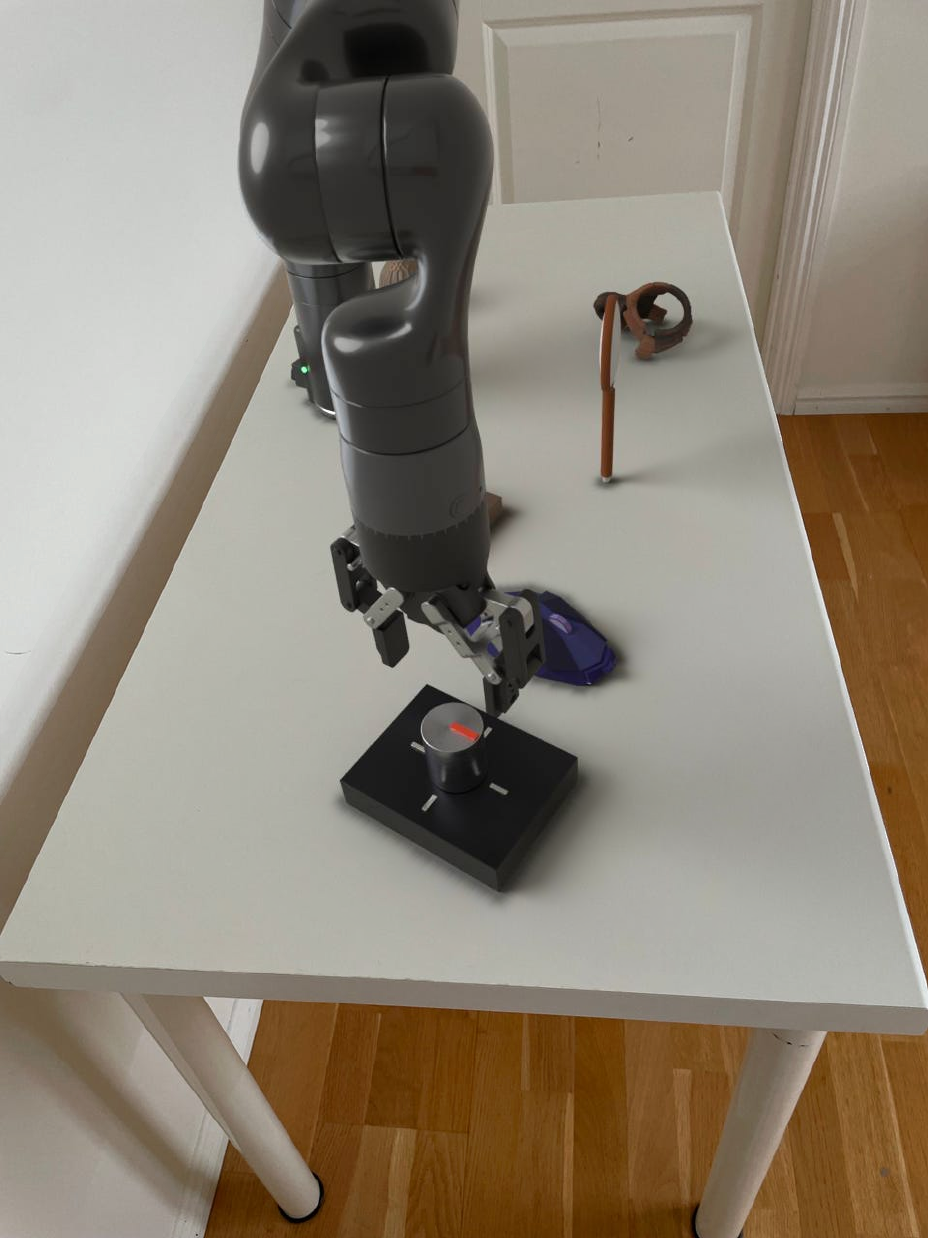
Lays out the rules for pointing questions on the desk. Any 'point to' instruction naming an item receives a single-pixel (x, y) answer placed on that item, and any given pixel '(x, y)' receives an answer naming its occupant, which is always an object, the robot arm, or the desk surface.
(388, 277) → the vase
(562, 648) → the computer mouse
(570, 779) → the panel
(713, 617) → the desk surface
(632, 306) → the brown ring sculpture
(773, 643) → the desk surface
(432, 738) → the hob knob
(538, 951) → the desk surface
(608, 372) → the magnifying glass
